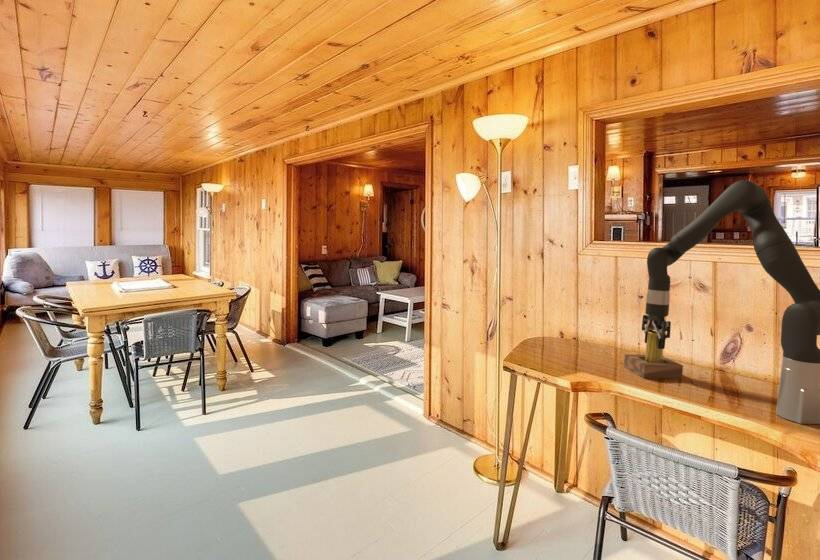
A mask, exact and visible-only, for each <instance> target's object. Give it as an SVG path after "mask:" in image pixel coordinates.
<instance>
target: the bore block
mask: <svg viewBox="0 0 820 560" xmlns="http://www.w3.org/2000/svg"><path fill="white" fill-rule="evenodd" d="M623 361H624V362H623V364H624V365H623V367H624V368H625V369H626V370H627V371H630V372H631V373H633V374H635V375H637V376H639V377H640V378H642V379H643V380H644V379H649V380H653V379H654V380H659V379H660V380H682V379H683V370H684V365H682V364H680V363H679V362H676V361H674V360H673V359H670V358H668V357H666V356H663V355H662V363H648V362H646V361H645V354H632V353H631V354H629V353H628V354H624V360H623Z"/></svg>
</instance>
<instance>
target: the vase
mask: <svg viewBox="0 0 820 560" xmlns="http://www.w3.org/2000/svg"><path fill="white" fill-rule="evenodd" d="M661 335H662V333H661ZM658 338H659V337H658V334H657V333H656V332H655V330H653V331H648V335H647V343H646V345H645V346H646V347H645V354H644V355H645V361H646V362H648V363H662V356H663V350H664V349H659V348H658Z"/></svg>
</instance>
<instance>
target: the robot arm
mask: <svg viewBox="0 0 820 560" xmlns="http://www.w3.org/2000/svg"><path fill="white" fill-rule="evenodd" d="M735 211H737V212H739V213H740V214H741V216H742V217H743V218H744V220H745V221H746V224H747V225H748V226H749V228H750V231H751V236H752V244H753V245H752V246H753V249H754V253H755V255H756V256H757V258H758V261H759V262H760V264H761V266H762V268H763V269H764V271H765V272H766V273H767V274H768V275H769V276H770V277H771V278H772V279H773V280H774V281H776V283H778V284H779V285H780V286H781V287H783V288H784V289H785V291H786V292H787V293H788V294H789V296H790V297H791V298H792V300H793V302H794V303H792V304H790V305H788V306H787V307H786V309H785V310H784V312H783V315H782V318H781V330H780V332H781V333H780V346H781V348H782V359H781V368H780V375H779V384H778V392H777V399H776V409H775V414H776V415H777V416H778V415H779V416H778V417H780V418H782V419H785V420H788V421H792V422H796V424H797V423H798V424H799V425H800V424H803V425H804V424H805V425H806V424H807V425H811V424H813V425H815V424H816V425H818V424H819V425H820V348H819V347H818V345H817V344H818V343H817V341H818V336H820V288H819V287H818V285H817V284H816V282H815V281H814V279H813V277H812V276H811V273H810V272H809V270H808V268H807V266H806V265H805V264H804V262H803V260H802V258H801V256H800V254H799V252H798V250H797V248H796V246H795V244H794V243H793V242H792V240H791V238H790V236H789V235H788V233H787V232H786V230H785V228H784V227H783V226H782V224H781V223H780V222H779V220H778V218H777V217H776V214H775V213H774V209H773V207H772V204H771V203H770V199H769V196H768V194H767V192H766V191H765V189H764V188H763V187H761V186H760V185H759V184H756V183H755V182H753V181H751V180H748V179H742V180H741V179H740V180H737V181H735V182H733V183H732V184H731V185H729V186H728V187H727V188H726V189H725V190H724V191H723V192H722V193H721V194H720V195H719V196H718V197H716V199H715V200H714V201H713V202H712V203H711V204H710V205H709V206H708V207H707V208H706V209H705V210H704V211H702V212H701V214H699V215H698V216H697V217H696V218H695V219H694V220H693V221H691V222H690V223H688V224H687V225H686V226H685V227H683V228H682V229H681V230H678V232H676V233H675V234H673V236H672V237H671V238H670V241H669V242H667V243H666V244H665V245H664V246H662V247H655V248H652V249H651V250H650V251H649V252H648V254H647V259H646V265H647V266H646V267H647V274H648V284H647V292H646V299H645V300H646V301H645V314H643V315H642V321H641V331H643V333H644V343H645V344H647V335H648V331H655V332H656V333H657V334H658V337H659V338H658V348H659V349H663V350H664V349H665V348H666V347H665V346H666V340H667V339H670V338H671V325H672V322H671V321H670V320H666V317H668V316H669V312H670V301H671V300H670V299H671V295H670V294H671V293H670V291H671V277H670V275H669V274H668V267H669V266H671V265H673V264H675V262H677V261H678V260H680V258H681V257H683V255H685V254H686V253H687V252H688V251H690V250H691V249H692V248H694V247H695V246H697V245H699V243H701V242H702V241H703V240H705V239H706V238H707V237H708V236H709V234H710V233H711V232H712V231H713V229H714V228H715V227H716V225H717V224H719V222H721V221H722V220H723V219H725V217H727V216H728V215H731V214H732V213H734V212H735ZM661 333H662V335H661Z"/></svg>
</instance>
